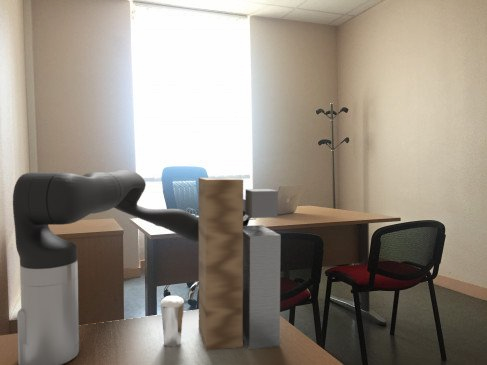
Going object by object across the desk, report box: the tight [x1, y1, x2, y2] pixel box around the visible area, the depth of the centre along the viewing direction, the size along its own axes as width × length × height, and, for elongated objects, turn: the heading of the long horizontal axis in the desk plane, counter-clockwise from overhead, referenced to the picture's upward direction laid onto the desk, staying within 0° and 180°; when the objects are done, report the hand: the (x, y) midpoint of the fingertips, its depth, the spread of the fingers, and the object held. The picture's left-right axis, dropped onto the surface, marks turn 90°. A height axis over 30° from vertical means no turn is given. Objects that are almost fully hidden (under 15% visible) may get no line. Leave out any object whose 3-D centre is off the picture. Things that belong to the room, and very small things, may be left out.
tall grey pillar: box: [242, 224, 282, 350], centre depth 81 cm, size 6×12×22 cm, turn 14°
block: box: [243, 188, 279, 219], centre depth 84 cm, size 5×19×5 cm, turn 14°
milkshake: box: [160, 293, 188, 348], centre depth 77 cm, size 4×5×10 cm
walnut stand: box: [198, 177, 244, 351], centre depth 79 cm, size 7×10×32 cm
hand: (246, 196), depth 88 cm, fingers closed on block, 3 cm apart
